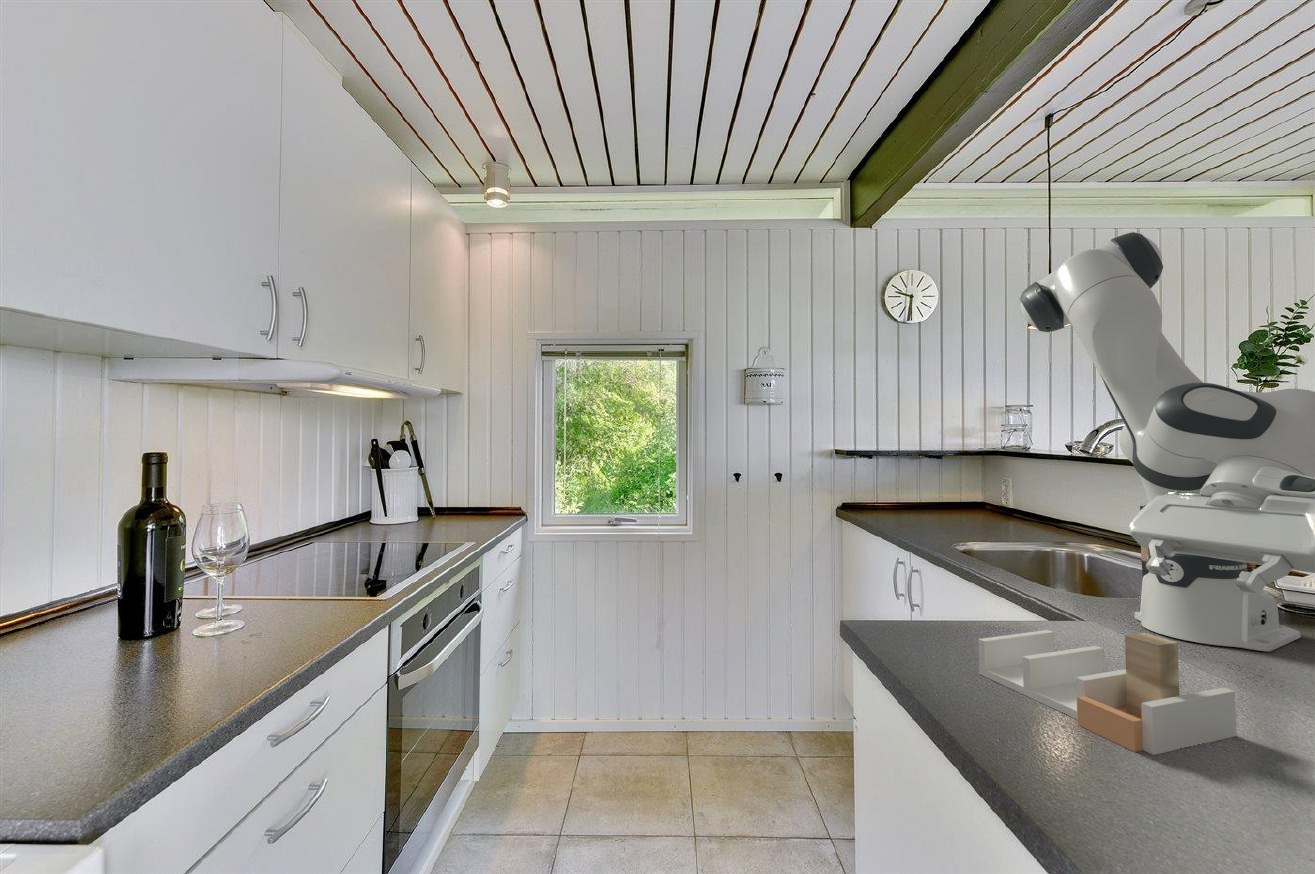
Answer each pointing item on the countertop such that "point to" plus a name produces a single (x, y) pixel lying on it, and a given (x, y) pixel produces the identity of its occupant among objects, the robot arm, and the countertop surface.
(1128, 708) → the block
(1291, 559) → the robot arm
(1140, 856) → the countertop surface
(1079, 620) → the countertop surface
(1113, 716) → the rack
